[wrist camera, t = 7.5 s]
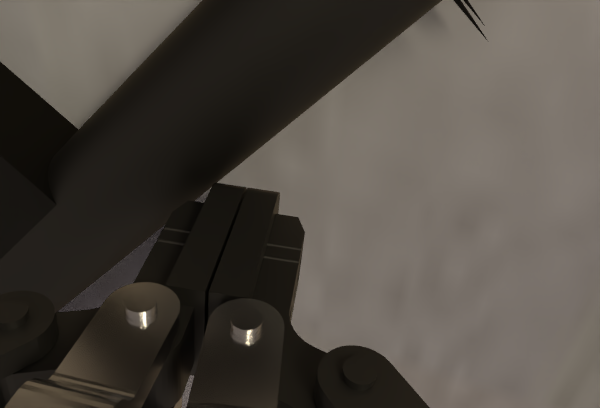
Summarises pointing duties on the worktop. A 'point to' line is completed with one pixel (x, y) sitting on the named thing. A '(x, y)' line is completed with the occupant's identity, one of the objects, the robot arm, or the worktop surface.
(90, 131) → the door handle
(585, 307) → the worktop surface
